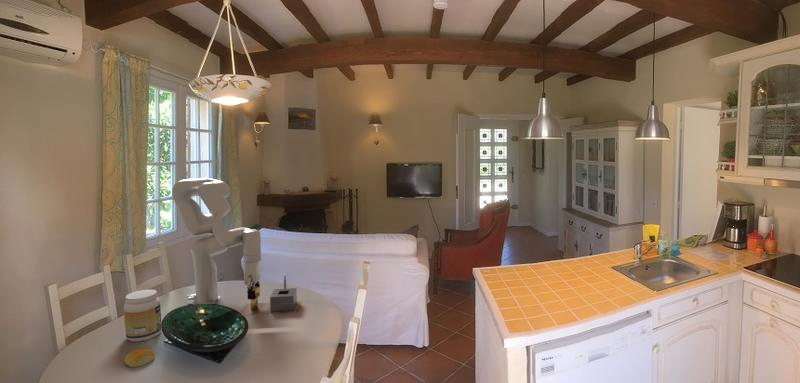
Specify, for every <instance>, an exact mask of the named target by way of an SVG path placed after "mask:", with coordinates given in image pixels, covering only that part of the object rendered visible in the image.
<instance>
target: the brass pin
mask: <svg viewBox="0 0 800 383" xmlns="http://www.w3.org/2000/svg"><path fill="white" fill-rule="evenodd" d="M254 290H255V296H256V298H255V299H249V302H250V303H249V304H250V305H251V310H257V309H258V303H259V297H260V296H261V286H260V287H256V286H255V289H254Z"/></svg>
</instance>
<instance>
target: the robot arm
mask: <svg viewBox="0 0 800 383" xmlns="http://www.w3.org/2000/svg"><path fill="white" fill-rule="evenodd" d="M230 194H231V188H230V186H229V185H228V184H227V183H226V182H225V181H223V180H219V179H213V178H209V177H200V178H199V177H198V178H197V177H196V178H187V179H181V180H178V181H177V182H175V183H174V184H173V186H172V188H171V195H172V199H173V201H174V204H175V205H176V206H177V208H178V211H179V212H180V214H181V217H182V220H183V223H184V225H185V228H186V231H187V232H188V234H189V235H190V236H191V237H200V236H204V237H201V238H197V239H196V240H194V241H193V242H192V243H191V245H190V253H191V256H192V261H193V269H194V270H193V271H194V284H195V285H194V286H195V288H194V289H195V293H194V294H187V295H186V298H187V300H188V301H192V300H193V301H192V305H193V304H214V305H215V304H216V302H217V301H218V300H220V298H221V296H220V295H219V290H218V287H219V286H218V270H217V269H218V268H217V263H216V261H215V260H214V259H213V257H214V256H216V255H219V254H223V253H225V252H227V250H228V249H229V248H233V247H237V246H240V245H242V257H243V263H244V271H243V272H244V274H243V277H244V280H243V281H244V285H245V286H247V288H246V289H247V291H246V292H247V300H250V299H255V298H256V296H255V290H254V289H255V286H256V287H260V288H261V284H260V279H261V266H260V264H261V263H260V262H261V261H262V244H261V242H262V241H261V231H260V230H259V229H255V228H253V229H251V228H248V227H244V226H242V227H238V228H237V227H236V228H233V229H229V230H228V229H227V227H226V225H225V224H224V221H223V220H224V218H223V217H225V216H227V214H229V212H230V211H231V209H232V208H231V205H230V204H229V202H228V200H227V198H228V197H230ZM192 197H193V198H194V197H200V199H201V201H203V203H204V205H205V207H206V208H207V209H208V211H209V213H206V214H204V213H203V212H202V210H201V209H202V208H201V206H200V205H199V203H198V202H196V200H194V199H193V198H192ZM205 235H209V236H205Z"/></svg>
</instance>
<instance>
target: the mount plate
mask: <svg viewBox="0 0 800 383" xmlns="http://www.w3.org/2000/svg"><path fill="white" fill-rule="evenodd" d="M301 305H302V301H299V300H298V301H297V303H296V306H295V309H294V311H288V312H271V309H270V302H258V309H257V310H251V305H250V303H246V304H245V305H244V307H243V308H242V310H241V312H240V313H241V314H242V315H241V316H253V315H257V316H258V315H275V314H278V315H279V314H292V313H296V314H297V313H299V311H300V308H301Z"/></svg>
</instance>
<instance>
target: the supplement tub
mask: <svg viewBox="0 0 800 383" xmlns="http://www.w3.org/2000/svg"><path fill="white" fill-rule="evenodd" d="M122 310H123V316H124V317H123V318H124V332H125V338H126V340H128V341H129V340H130V341H129V342H143V340H144V341H147V340H151V339H153V338H155V337H157V336H158V335H160V333H162V331H161V323H162V310H161V300H160V298H159V297H158V292H157V290H156V289H142V290H137V291H133V292H130V293H128V294H126V295H125V303H124V305H123V309H122ZM162 324H163V323H162Z"/></svg>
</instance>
